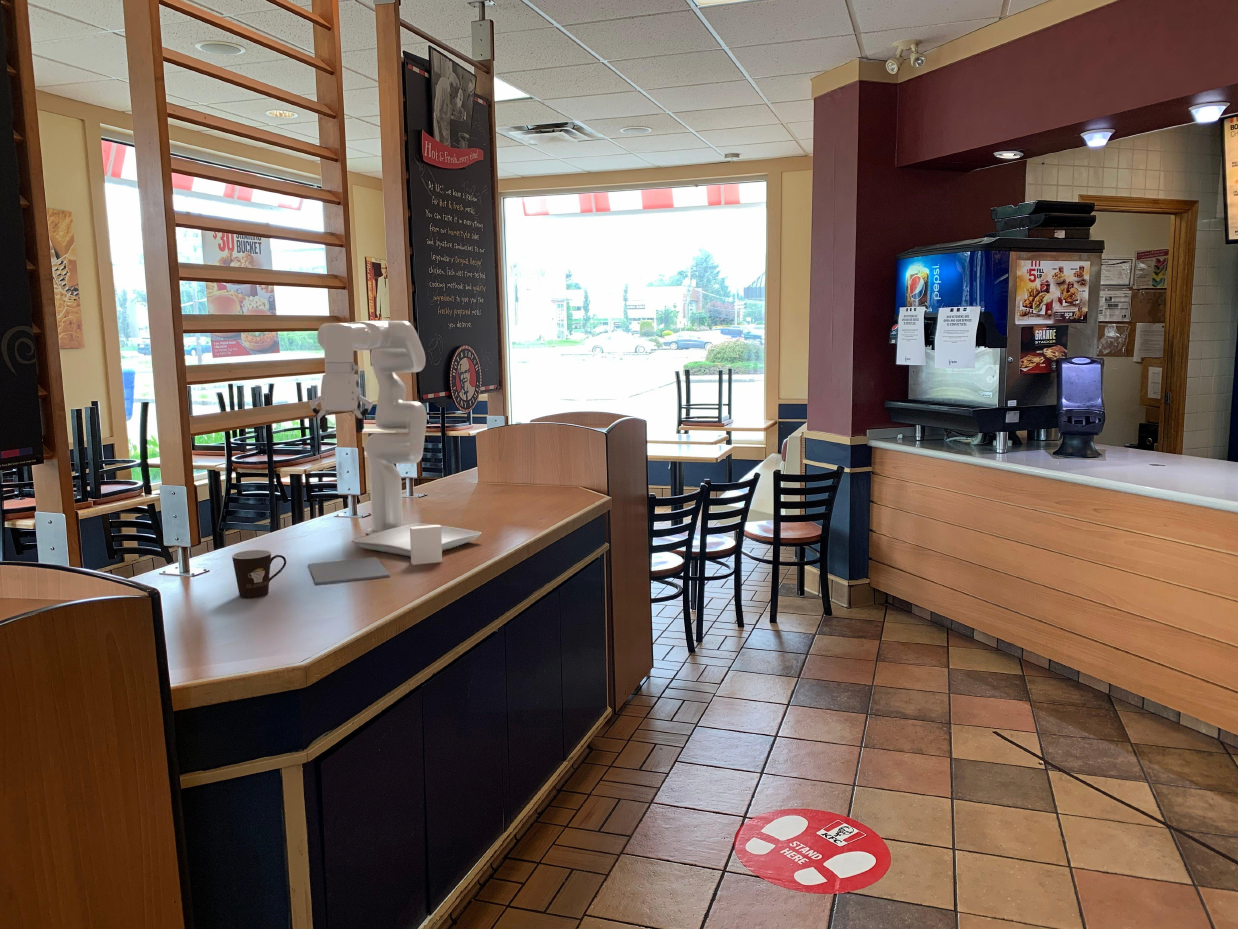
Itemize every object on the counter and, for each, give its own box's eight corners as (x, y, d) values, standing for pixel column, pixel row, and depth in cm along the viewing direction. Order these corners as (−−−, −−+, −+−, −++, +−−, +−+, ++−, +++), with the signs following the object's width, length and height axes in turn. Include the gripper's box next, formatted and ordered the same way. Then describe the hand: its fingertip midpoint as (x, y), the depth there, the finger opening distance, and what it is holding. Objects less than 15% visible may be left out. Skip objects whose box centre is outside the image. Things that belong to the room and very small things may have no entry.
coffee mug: (231, 601, 205) (229, 559, 203) (237, 591, 213) (234, 551, 212) (284, 597, 208) (282, 556, 206) (288, 587, 216) (286, 548, 215)
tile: (410, 562, 240) (409, 527, 239) (439, 559, 244) (438, 524, 242) (412, 564, 238) (411, 528, 237) (442, 561, 241) (441, 526, 240)
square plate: (416, 533, 278) (416, 521, 278) (483, 543, 264) (483, 531, 264) (350, 550, 255) (350, 537, 255) (420, 563, 241) (419, 549, 241)
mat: (308, 566, 236) (308, 563, 236) (376, 559, 244) (376, 557, 244) (316, 584, 218) (316, 582, 218) (389, 576, 226) (389, 574, 226)
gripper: (375, 369, 241) (377, 431, 243) (313, 368, 241) (316, 430, 244) (366, 369, 233) (368, 434, 235) (302, 369, 234) (305, 433, 236)
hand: (342, 432), depth 239 cm, fingers open, 9 cm apart
